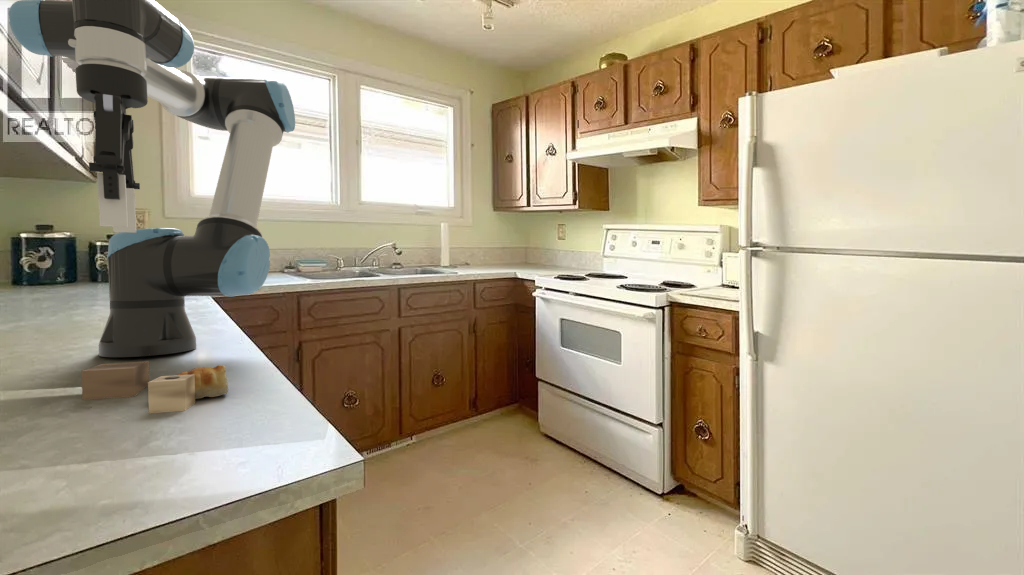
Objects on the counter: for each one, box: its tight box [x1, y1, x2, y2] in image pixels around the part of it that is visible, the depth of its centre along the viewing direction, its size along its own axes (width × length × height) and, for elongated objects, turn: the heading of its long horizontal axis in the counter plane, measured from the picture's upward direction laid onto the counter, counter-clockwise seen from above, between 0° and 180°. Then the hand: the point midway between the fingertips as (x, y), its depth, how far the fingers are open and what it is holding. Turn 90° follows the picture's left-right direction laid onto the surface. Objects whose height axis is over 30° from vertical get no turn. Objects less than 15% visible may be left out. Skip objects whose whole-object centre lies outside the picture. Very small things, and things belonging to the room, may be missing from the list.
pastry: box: [176, 364, 229, 400], centre depth 71 cm, size 9×7×4 cm
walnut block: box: [81, 360, 151, 401], centre depth 73 cm, size 6×6×4 cm
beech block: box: [147, 374, 196, 414], centre depth 65 cm, size 4×4×4 cm
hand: (120, 230), depth 69 cm, fingers open, 13 cm apart
